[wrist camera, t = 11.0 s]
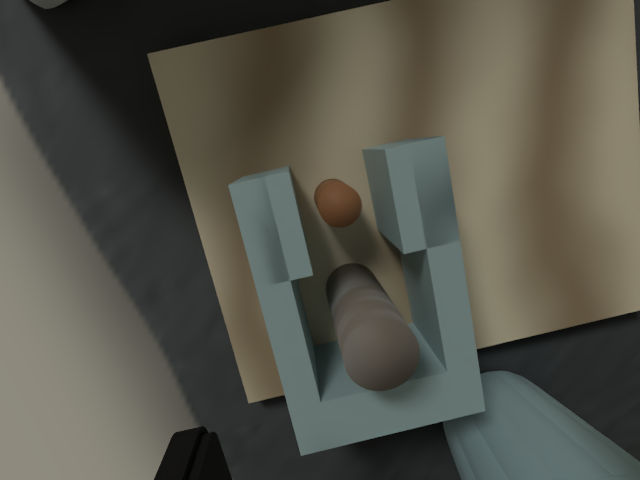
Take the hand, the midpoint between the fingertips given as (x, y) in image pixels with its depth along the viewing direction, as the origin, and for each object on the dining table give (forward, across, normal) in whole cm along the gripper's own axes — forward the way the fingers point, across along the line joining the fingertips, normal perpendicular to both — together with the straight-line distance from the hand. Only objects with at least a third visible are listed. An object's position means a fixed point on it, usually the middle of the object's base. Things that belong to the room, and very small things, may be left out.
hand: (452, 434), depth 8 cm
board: (+12, -3, -3) cm, 13 cm away
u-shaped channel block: (+11, +1, +1) cm, 11 cm away
